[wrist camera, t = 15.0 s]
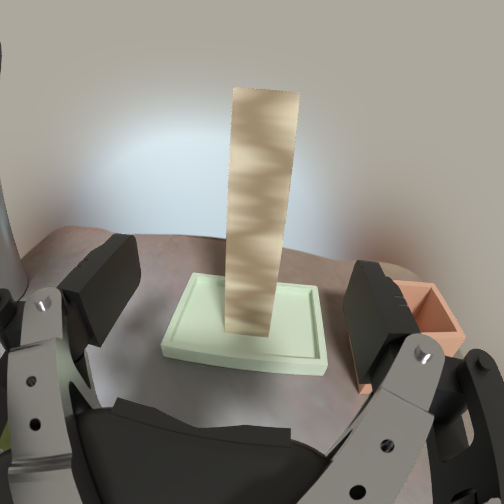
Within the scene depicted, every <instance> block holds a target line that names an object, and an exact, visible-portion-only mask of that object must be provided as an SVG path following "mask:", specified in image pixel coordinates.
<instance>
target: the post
mask: <svg viewBox="0 0 504 504" xmlns="http://www.w3.org/2000/svg"><path fill="white" fill-rule="evenodd" d="M299 99H300V93H296V92H287V91H277V90H266V89H251V88H250V89H249V88H234V91H233V105H232V121H231V138H230V139H231V140H230V158H229V179H228V204H227V234H226V235H227V236H226V271H225V332H227V333H234V334H241V335H249V336H258V337H267V338H268V337H269V330H270V324H271V318H272V312H273V305H274V299H275V292H276V286H277V279H278V272H279V265H280V259H281V251H282V244H283V237H284V229H285V222H286V213H287V207H288V198H289V191H290V183H291V174H292V166H293V156H294V148H295V139H296V128H297V120H298V110H299Z"/></svg>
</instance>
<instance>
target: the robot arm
mask: <svg viewBox="0 0 504 504" xmlns="http://www.w3.org/2000/svg"><path fill="white" fill-rule="evenodd" d="M1 57H2V55H1V43H0V72H1ZM140 279H141V268H140V262H139V256H138V250H137V243H136V239H135V237H134V236H133V235H127V234H117V233H116V234H113V235H112V236H111V237H110V238H109V239H108V240H107V241H106V242H105V243H104V244H103V245H101V246H99V247H97V248H96V249H94V250H92V251H91V252H90V253H89V254H88V255H87V256H86V257H85V258H84V260H82V261H81V262H80V263H79V264H78V265H77V267H75V268H74V269H73V270H72V271H71V272H70V273H69V274H68V275H67V277H66V278H65V279H64V280H63V281H62V282H61V283H60V284H59V285H58V286H57V287H56V288H54V287H45V288H41V289H39V290H37V291H35V292H34V293H32V294H31V295H30V296H29V297H28V298H27V300H26V301H18V300H19V299H20V297H21V296H22V295H23V294H24V292H25V291H26V288H27V285H28V279H27V276H26V274H25V271H24V268H23V265H22V262H21V260H20V257H19V253H18V250H17V247H16V244H15V240H14V237H13V234H12V230H11V226H10V223H9V219H8V214H7V210H6V206H5V201H4V197H3V192H2V186H1V180H0V343H1V344H2V346H3V347H4V349H5V350H6V351H5V352H4V354H3V356H2V357H1V359H0V438H1V435H2V433H3V430H4V428H5V426H6V423H7V421H8V425H9V436H10V444H11V449H9V450H7V451H5V452H3V451H2V449H1V448H0V504H393V503H394V502H395V500H396V498H397V497H398V495H399V493H400V491H401V490H402V488H403V486H404V484H405V482H406V481H407V479H408V477H409V475H410V473H411V471H412V469H413V467H414V465H415V463H416V461H417V459H418V457H419V455H420V452H421V450H422V448H423V446H424V443H425V441H426V442H427V449H428V456H429V464H430V472H431V482H432V495H433V504H504V382H503V379H502V376H501V374H500V372H499V370H498V367H497V365H496V363H495V361H494V359H493V358H492V357H491V356H490V355H489V354H488V353H487V352H485V351H483V350H481V349H472V350H470V351H469V352H468V353H467V355H466V356H465V357H464V359H463V360H461V359H457V358H453V357H449V356H445V354H444V351H443V349H442V347H441V346H440V344H439V343H438V342H437V341H436V340H434V339H433V338H431V337H430V336H427V335H425V334H421V332H420V329H419V327H418V325H417V323H416V321H415V319H414V316H413V314H412V312H411V310H410V308H409V306H407V305H408V304H407V302H406V300H405V298H403V297H404V296H403V294H402V292H401V290H400V288H399V286H398V285H397V284H396V283H395V282H394V281H393V280H392V279H391V278H390V277H385V275H384V273H383V271H382V269H381V267H380V265H379V263H378V262H373V261H364V260H357V261H356V263H355V265H354V268H353V272H352V275H351V278H350V281H349V284H348V287H347V290H346V294H345V297H344V314H345V318H346V323H347V327H348V332H349V336H350V341H351V345H352V350H353V355H354V360H355V365H356V370H357V376H358V381H359V384H371V386H372V391H371V393H370V394H369V395H368V397H367V398H366V400H365V402H364V403H363V405H362V406H361V408H360V409H359V411H358V412H357V414H356V415H355V417H354V418H353V420H352V421H351V422H350V424H349V425H348V427H347V428H346V429H345V431H344V432H343V434H342V435H341V436H340V437H339V439H338V440H337V441H336V442H335V443H334V445H333V446H332V447H331V448H330V449H329V451H328V452H327V453H326V454H325V455H324V454H322V453H321V452H319V451H318V450H316V449H315V448H313V447H311V446H309V445H307V444H304V443H301V442H299V441H296V440H292V439H291V428H275V427H262V426H251V425H240V426H229V427H215V428H196V427H193V426H190V425H188V424H186V423H184V422H182V421H180V420H177V419H175V418H173V417H171V416H169V415H167V414H165V413H163V412H161V411H159V410H158V409H156V408H152V407H148V406H145V405H141V404H138V403H134V402H131V401H128V400H124V399H121V398H118V397H117V400H116V402H115V404H114V407H105V408H102V407H101V405H100V403H99V400H98V398H97V395H96V391H95V387H94V383H93V378H92V374H91V369H90V364H89V359H88V354H87V352H86V350H85V348H86V347H87V345H88V344H91V345H94V346H97V347H101V346H102V344H103V342H104V341H105V339H106V337H107V336H108V334H109V332H110V330H111V329H112V327H113V326H114V324H115V322H116V321H117V319H118V317H119V316H120V314H121V312H122V311H123V309H124V308H125V306H126V305H127V303H128V301H129V300H130V298H131V297H132V295H133V294H134V292H135V290H136V289H137V287H138V286H139V283H140ZM467 409H468V410H469V414H470V418H471V421H472V425H473V429H474V439H473V442H472V444H471V445H470V446H469V445H468V441H467V436H466V432H465V427H464V423H463V419H462V416H461V415H462V414H463V413H464V412H465V411H466V410H467Z"/></svg>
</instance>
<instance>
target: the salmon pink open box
mask: <svg viewBox="0 0 504 504" xmlns="http://www.w3.org/2000/svg"><path fill="white" fill-rule="evenodd" d="M393 281H394V282H395V283H396V284H397V285H398V286H399V288H400V290H401V292H402V294H403V296H404V297H403V298H405V300H406V302H407V304H408V305H407V306H409V308H410V310H411V312H412V314H413V316H414V319H415V321H416V323H417V325H418V327H419V329H420V332H421V334H425V335H427V336H430V337H431V338H433V339H434V340H436V341H437V342H438V343H439V344H440V346H441V347H442V349H443V351H444V354H445V356H449V357H453V356H454V354H455V353H456V351H457V350H458V349H459V347H460V346H461V344H462V342H463V341H464V340H465V338H466V336H465V334H464V332H463V331H462V329H461V327H460V325H459V323H458V322H457V320H456V318H455V316H454V315H453V313H452V312H451V310H450V308H449V306H448V305H447V303H446V301H445V300H444V298H443V297H442V295H441V294H440V292H439V291H438V289H437V287H436V286H435V285H434V283H422V282H410V281H399V280H393ZM348 337H349V342H350V347H351V352H352V357H353V362H354V367H355V373H356V378H357V384H358V390H359V394H370V393H371V391H372V386H371V384H359V381H358V376H357V370H356V365H355V360H354V355H353V350H352V345H351V341H350V336H349V332H348Z"/></svg>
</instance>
